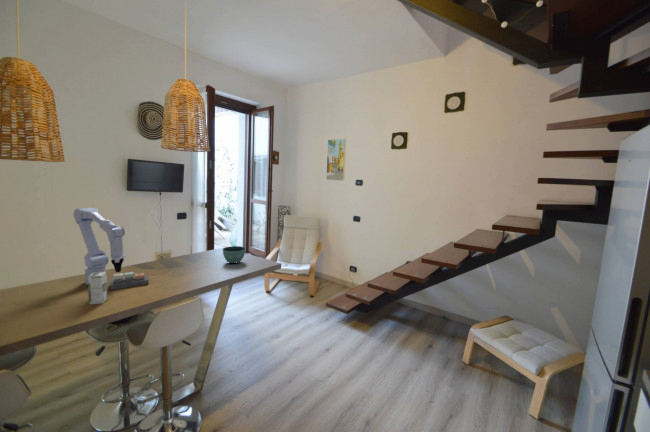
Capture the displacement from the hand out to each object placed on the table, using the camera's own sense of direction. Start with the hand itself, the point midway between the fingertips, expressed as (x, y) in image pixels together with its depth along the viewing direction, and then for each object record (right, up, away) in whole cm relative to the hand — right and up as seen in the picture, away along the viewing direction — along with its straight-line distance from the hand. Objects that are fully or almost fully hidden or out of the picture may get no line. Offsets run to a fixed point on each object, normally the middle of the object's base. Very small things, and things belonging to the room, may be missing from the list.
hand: (118, 271), depth 160 cm
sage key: (+4, -6, +4) cm, 8 cm away
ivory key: (0, -6, +1) cm, 6 cm away
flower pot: (+49, -4, +52) cm, 72 cm away
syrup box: (+5, -11, -20) cm, 23 cm away
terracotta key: (+8, -7, +7) cm, 13 cm away
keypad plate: (+4, -8, +4) cm, 10 cm away
